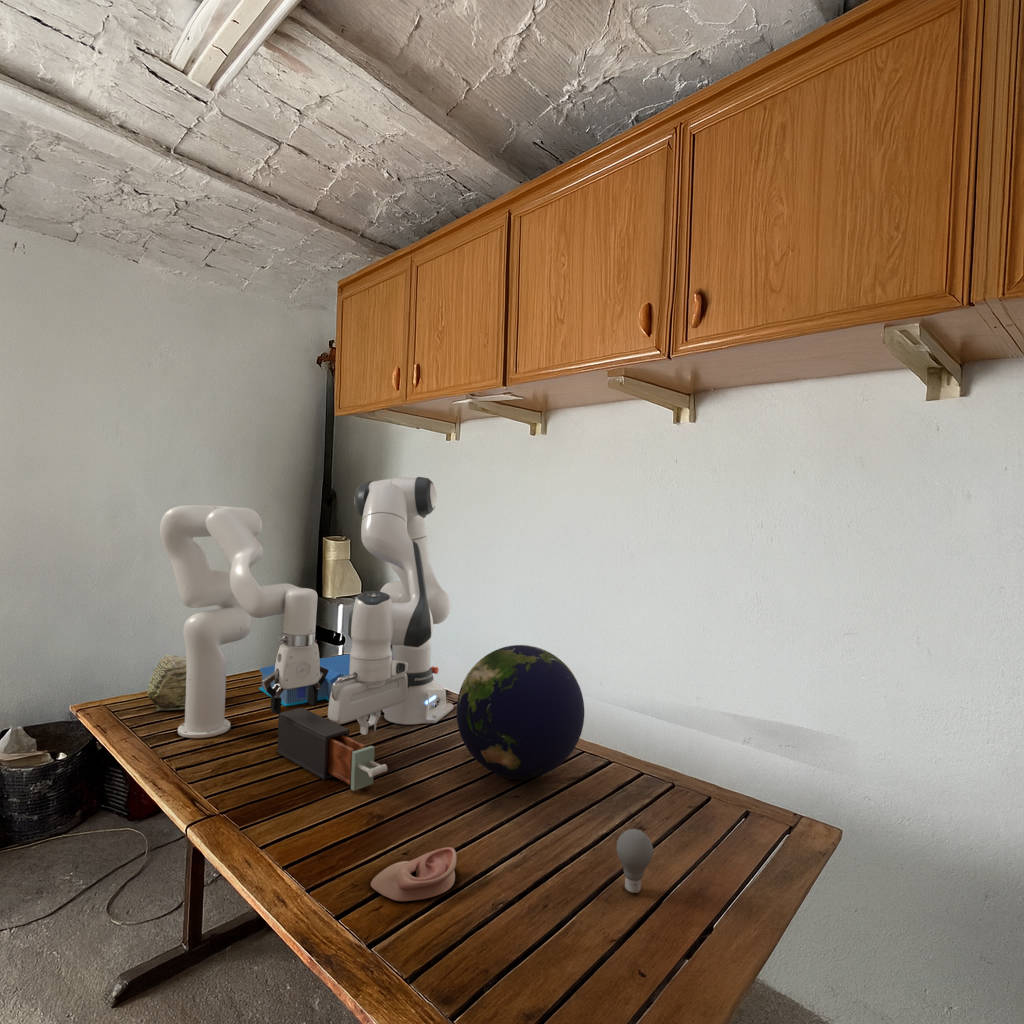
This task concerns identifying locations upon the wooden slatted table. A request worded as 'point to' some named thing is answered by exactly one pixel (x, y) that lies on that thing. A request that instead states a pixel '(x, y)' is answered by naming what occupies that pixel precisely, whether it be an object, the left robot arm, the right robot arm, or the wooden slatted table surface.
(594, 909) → the wooden slatted table surface
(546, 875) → the wooden slatted table surface
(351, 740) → the drawer
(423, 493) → the right robot arm
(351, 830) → the wooden slatted table surface
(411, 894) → the anatomical model
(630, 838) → the light bulb
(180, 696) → the fossil
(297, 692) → the model building
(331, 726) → the cabinet
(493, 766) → the globe
